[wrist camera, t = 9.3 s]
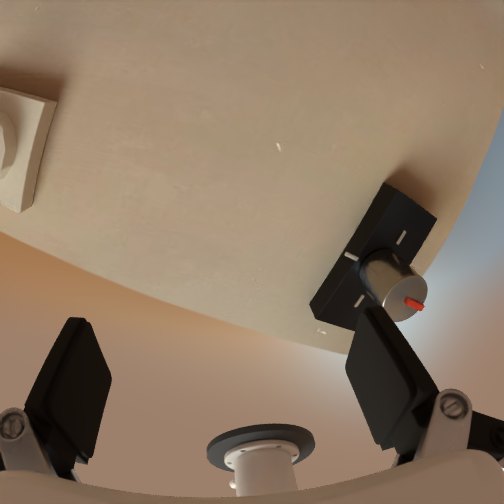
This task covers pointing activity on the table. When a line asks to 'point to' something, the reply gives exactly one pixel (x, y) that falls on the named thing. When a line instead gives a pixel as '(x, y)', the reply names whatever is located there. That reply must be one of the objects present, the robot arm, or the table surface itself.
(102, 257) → the table surface
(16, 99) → the switch box
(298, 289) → the table surface
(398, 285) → the knob
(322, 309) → the panel
